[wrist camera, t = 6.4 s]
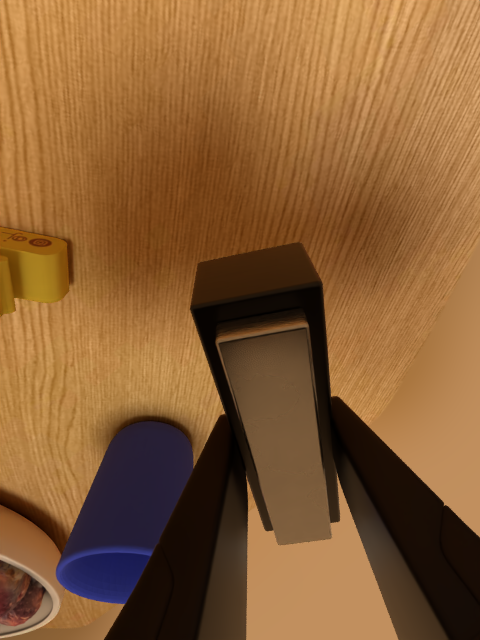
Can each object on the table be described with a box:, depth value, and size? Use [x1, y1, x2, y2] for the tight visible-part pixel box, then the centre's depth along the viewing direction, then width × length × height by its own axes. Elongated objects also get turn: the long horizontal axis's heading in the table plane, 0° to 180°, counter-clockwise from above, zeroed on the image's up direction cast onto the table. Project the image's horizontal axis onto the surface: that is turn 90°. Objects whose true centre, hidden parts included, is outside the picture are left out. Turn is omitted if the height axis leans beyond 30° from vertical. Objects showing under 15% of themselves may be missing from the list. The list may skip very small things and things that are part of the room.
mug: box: [56, 421, 193, 604], centre depth 26 cm, size 8×12×10 cm
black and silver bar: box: [190, 242, 340, 545], centre depth 9 cm, size 9×2×3 cm, turn 11°
